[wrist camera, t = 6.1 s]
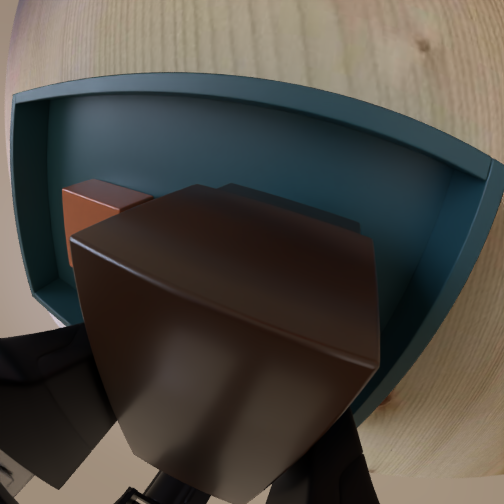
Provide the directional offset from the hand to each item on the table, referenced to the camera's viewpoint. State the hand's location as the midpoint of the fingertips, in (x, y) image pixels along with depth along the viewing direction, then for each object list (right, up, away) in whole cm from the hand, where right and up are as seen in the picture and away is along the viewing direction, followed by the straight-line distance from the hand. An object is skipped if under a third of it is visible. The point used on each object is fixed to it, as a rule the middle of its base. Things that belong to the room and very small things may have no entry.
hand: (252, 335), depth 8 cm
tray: (-4, +3, +4) cm, 6 cm away
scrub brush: (0, 0, +1) cm, 1 cm away
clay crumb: (-6, +4, +4) cm, 8 cm away
